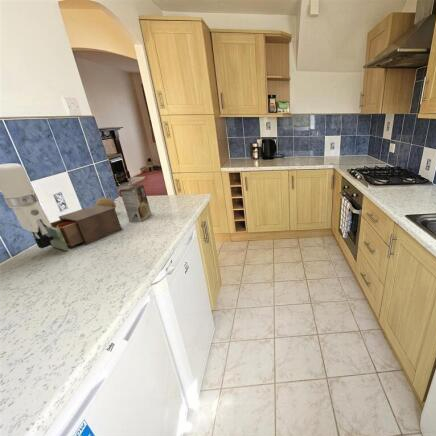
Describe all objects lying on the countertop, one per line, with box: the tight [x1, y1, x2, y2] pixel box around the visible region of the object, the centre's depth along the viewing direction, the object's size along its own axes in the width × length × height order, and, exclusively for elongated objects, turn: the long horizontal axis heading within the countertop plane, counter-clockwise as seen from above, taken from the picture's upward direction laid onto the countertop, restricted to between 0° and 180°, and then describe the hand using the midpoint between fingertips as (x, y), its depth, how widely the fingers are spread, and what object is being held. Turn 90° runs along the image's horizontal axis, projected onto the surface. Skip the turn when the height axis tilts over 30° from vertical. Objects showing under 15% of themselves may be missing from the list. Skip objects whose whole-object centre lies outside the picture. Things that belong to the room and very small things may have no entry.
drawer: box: [45, 219, 84, 251], centre depth 98 cm, size 15×11×9 cm
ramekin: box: [56, 221, 75, 242], centre depth 98 cm, size 7×7×6 cm
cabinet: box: [58, 204, 123, 245], centre depth 104 cm, size 15×13×11 cm
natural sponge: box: [94, 196, 117, 209], centre depth 124 cm, size 9×9×10 cm
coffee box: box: [118, 184, 152, 222], centre depth 119 cm, size 9×6×16 cm
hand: (45, 246), depth 91 cm, fingers closed
